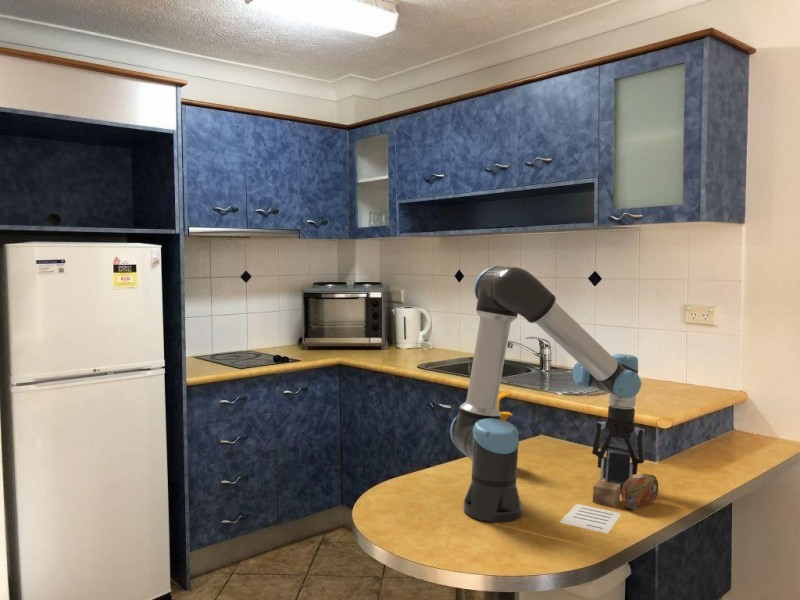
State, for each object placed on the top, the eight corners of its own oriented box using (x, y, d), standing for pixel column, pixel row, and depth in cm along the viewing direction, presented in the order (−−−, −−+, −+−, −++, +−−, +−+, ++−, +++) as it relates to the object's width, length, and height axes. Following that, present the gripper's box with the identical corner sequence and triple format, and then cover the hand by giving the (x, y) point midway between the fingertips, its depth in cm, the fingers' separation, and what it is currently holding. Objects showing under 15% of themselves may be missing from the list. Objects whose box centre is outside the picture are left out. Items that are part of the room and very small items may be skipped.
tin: (628, 513, 177) (630, 482, 176) (618, 509, 179) (619, 479, 178) (658, 502, 186) (660, 472, 186) (648, 499, 188) (649, 469, 188)
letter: (559, 523, 168) (559, 522, 168) (576, 504, 182) (576, 503, 182) (607, 534, 162) (607, 533, 162) (621, 514, 176) (621, 513, 176)
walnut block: (592, 503, 183) (593, 485, 183) (598, 497, 188) (599, 480, 188) (614, 508, 180) (615, 490, 180) (619, 501, 185) (620, 484, 185)
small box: (629, 489, 193) (631, 454, 192) (606, 487, 194) (608, 451, 194) (626, 478, 203) (627, 445, 202) (603, 476, 204) (605, 442, 204)
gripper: (584, 403, 199) (579, 477, 200) (655, 413, 189) (649, 492, 190) (590, 399, 205) (585, 471, 207) (659, 409, 195) (654, 485, 197)
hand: (616, 481), depth 198 cm, fingers closed on small box, 7 cm apart
